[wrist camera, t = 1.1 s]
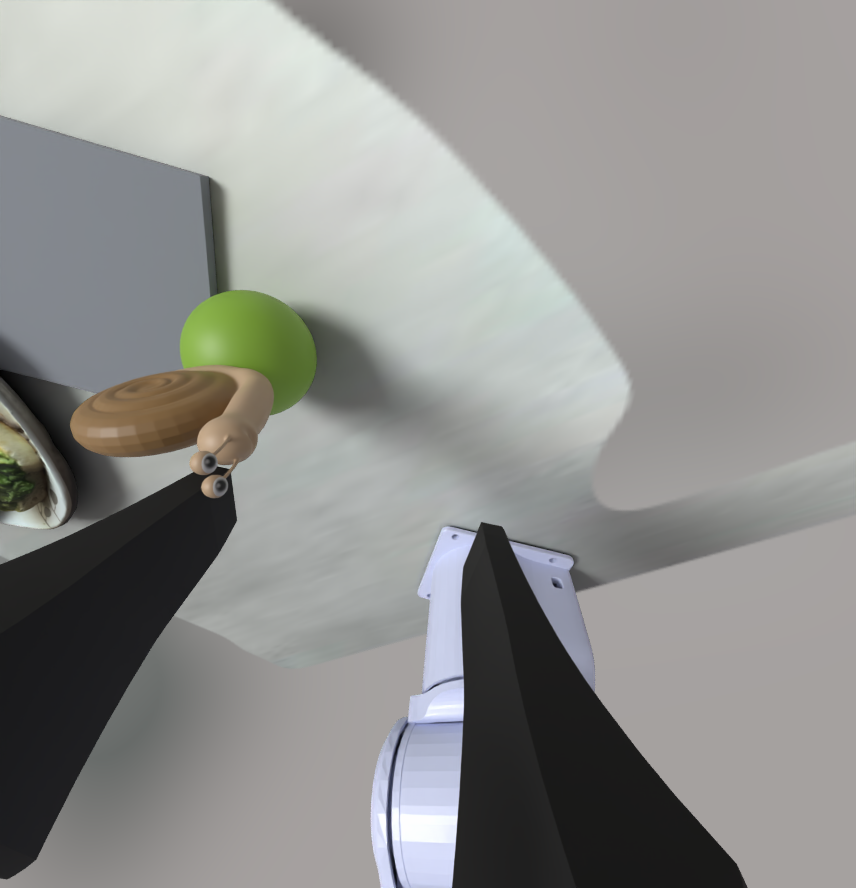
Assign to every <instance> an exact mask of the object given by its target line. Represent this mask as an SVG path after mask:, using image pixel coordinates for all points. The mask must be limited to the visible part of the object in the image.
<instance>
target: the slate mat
mask: <svg viewBox="0 0 856 888" xmlns="http://www.w3.org/2000/svg"><path fill="white" fill-rule="evenodd" d="M217 294H218V293H217V280H216V267H215V254H214V240H213V227H212V214H211V200H210V187H209V177H208V176H204V175H201V174H198V173H194V172H191V171H187V170H184V169H181V168H177V167H174V166H170V165H167V164H164V163H160V162H157V161H153V160H150V159H146V158H143V157H140V156H136V155H133V154H129V153H126V152H123V151H119V150H116V149H112V148H109V147H106V146H102V145H99V144H95V143H92V142H89V141H85V140H82V139H78V138H75V137H72V136H68V135H65V134H61V133H58V132H55V131H51V130H48V129H44V128H41V127H38V126H34V125H31V124H27V123H24V122H20V121H17V120H14V119H10V118H7V117H3V116H0V369H2V370H6V371H10V372H14V373H18V374H22V375H26V376H29V377H33V378H37V379H41V380H45V381H49V382H53V383H57V384H61V385H65V386H69V387H73V388H77V389H81V390H85V391H89V392H93V393H99V392H101V391H103V390H106V389H108V388H110V387H113V386H115V385H118V384H121V383H124V382H127V381H130V380H133V379H136V378H140V377H144V376H148V375H153V374H158V373H164V372H170V371H176V370H180V369H184V368H183V365H182V361H181V356H180V338H181V333H182V329H183V327H184V324H185V322H186V320H187V318H188V317H189V315H190V314H191V313H192V311H193V310H194V309H195V308H196V307H197V306H198V305H199V304H201V303H202V302H203V301H205V300H206V299H208V298H210V297H212V296H214V295H217Z"/></svg>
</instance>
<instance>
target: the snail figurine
mask: <svg viewBox="0 0 856 888" xmlns="http://www.w3.org/2000/svg"><path fill="white" fill-rule="evenodd" d="M180 356H181V361H182V365H183V368H184V369H180V370H176V371H170V372H164V373H158V374H153V375H148V376H144V377H140V378H136V379H133V380H130V381H127V382H124V383H121V384H118V385H115V386H113V387H110V388H108V389H106V390H103V391H101V392H99V393H97V394H95V395H94V396H92V397H90V398H89V399H87V400H86V401H84V402H83V403H82V404H81V405H80V406H79V407H78V408H77V409H76V410H75V412H74V413H73V416H72V418H71V422H70V428H71V431H72V434H73V437H74V439H75V440H76V441H77V442H78V443H79V444H81V445H82V446H83V447H85V448H86V449H88V450H90V451H92V452H95V453H98V454H102V455H106V456H114V457H142V456H150V455H157V454H162V453H168V452H172V451H176V450H180V449H183V448H187V447H190V446H192V445H195V444H197V446H198V449H199V451H200V452H197V453H195V454H194V455H193V456H192V457H191V459H190V468H191V469H192V471H193V472H195V473H196V474H199V475H208V474H210V473H212V472H213V471H214V470H215V469H216V468H217V465H218V464H220V465H231V464H233V465H232V467H231V468H230V470H229V471H228V472H227V473H226V474H225V475H224V476H220V475H211V476H209V477H207V478H206V479H205V480H204V481H203V483H202V486H201V489H202V492H203V493H204V494H205V495H206V496H207V497H210V498H219V497H221V496H222V495H224V494H225V493H226V491H227V488H228V482H227V480H226V478H227V477H228V476H229V474H230V473H231V472H232V471H233V470H234V468H235V467H236V465H237V464H238V463H239V462H241V461H243V460H245V459H247V458H248V457H249V456H250V455H251V454H252V453H253V451H254V450H255V448H256V446H257V442H258V434H259V433H260V432H261V430H262V429H263V427H264V426H265V424H266V422H267V420H268V418H269V415H274V414H277V413H280V412H282V411H284V410H286V409H288V408H290V407H292V406H293V405H294V404H296V403H297V402H298V401H299V400H300V399H301V398H302V397H303V396H304V395H305V394H306V392H307V391H308V389H309V388H310V386H311V384H312V382H313V379H314V376H315V372H316V366H317V355H316V348H315V344H314V341H313V338H312V335H311V333H310V331H309V329H308V328H307V326H306V324H305V323H304V322H303V320H302V319H301V318H300V317H299V316H298V314H297V313H296V312H294V311H293V310H292V309H291V308H290V307H289V306H287V305H286V304H284V303H283V302H281V301H280V300H278V299H276V298H274V297H271V296H269V295H266V294H263V293H260V292H255V291H249V290H234V291H227V292H223V293H220V294H217V295H214V296H212V297H210V298H208V299H206V300H205V301H203V302H202V303H201V304H199V305H198V306H197V307H196V308H195V309H194V310H193V311H192V313H191V314H190V315H189V317H188V318H187V320H186V322H185V324H184V327H183V329H182V333H181V338H180Z"/></svg>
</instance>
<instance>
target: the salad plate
mask: <svg viewBox="0 0 856 888" xmlns="http://www.w3.org/2000/svg"><path fill="white" fill-rule="evenodd" d="M77 503H78V491H77V484H76V480H75V478H74V475H73V473H72V471H71V469H70V467H69V465H68V463H67V462H66V460H65V459H64V457H63V456H62V454H61V453H60V452H59V450H58V449H57V448H56V447H55V445H54V444H53V442H52V440H51V438H50V435H49V433H48V432H47V430H46V428H45V427H44V426H43V425H42V424H41V422H40V421H39V420H38V419H37V418H36V417H35V416H34V414H33V413H32V412H31V411H30V409H29V408H28V407H27V406H26V405H25V403H24V402H23V401H22V400H21V398H20V397H19V396H18V395H17V394H16V393H15V391H14V390H13V389H12V388H11V387H10V386H9V385H8V384H7V383H6V382H5V381H4V380H3V379H2V378H1V377H0V523H3V524H6V525H15V526H21V527H26V528H33V529H54V528H57V527H59V526H62V525H64V524H65V523H67V522H68V521H69V519H70V518H71V516H72V515H73V513H74V512H75V510H76V508H77Z"/></svg>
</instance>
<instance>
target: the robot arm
mask: <svg viewBox="0 0 856 888" xmlns="http://www.w3.org/2000/svg"><path fill="white" fill-rule="evenodd" d="M229 470H230V469H227V468H222V467H217V468H216V469H215V470H214V471H213V472H212V473H210V474H208V475H199V474H196V473H195V472H193V473H191V474H189V475H187V476H186V477H184V478H182V479H180V480H178V481H176V482H174V483H173V484H171V485H169V486H167V487H165V488H163V489H161V490H160V491H158V492H156V493H154V494H152V495H150V496H148V497H146V498H144V499H142V500H140V501H139V502H137V503H135V504H133V505H131V506H129V507H127V508H125V509H123V510H121V511H119V512H117V513H115V514H113V515H111V516H109V517H107V518H105V519H103V520H101V521H98V522H96V523H94V524H92V525H90V526H88V527H86V528H84V529H82V530H80V531H78V532H76V533H74V534H71V535H69V536H67V537H65V538H63V539H60V540H58V541H56V542H54V543H51V544H49V545H47V546H44V547H42V548H40V549H37V550H35V551H32V552H30V553H28V554H25V555H23V556H20V557H18V558H16V559H13V560H11V561H8V562H6V563H3V564H1V565H0V878H1V879H8V878H11V877H12V876H14V875H16V874H17V873H19V872H20V871H22V870H23V869H25V868H26V867H28V866H29V865H30V864H31V863H33V862H34V861H35V860H36V859H37V857H38V855H39V853H40V851H41V849H42V847H43V844H44V842H45V840H46V838H47V836H48V834H49V832H50V830H51V828H52V826H53V824H54V822H55V821H56V819H57V817H58V815H59V813H60V811H61V809H62V807H63V805H64V803H65V801H66V799H67V797H68V795H69V793H70V791H71V789H72V787H73V785H74V783H75V781H76V779H77V777H78V776H79V774H80V772H81V770H82V768H83V766H84V765H85V763H86V761H87V759H88V757H89V755H90V753H91V751H92V750H93V748H94V746H95V744H96V742H97V740H98V739H99V737H100V735H101V733H102V731H103V729H104V728H105V726H106V724H107V722H108V720H109V719H110V717H111V715H112V713H113V712H114V710H115V708H116V707H117V705H118V703H119V701H120V700H121V698H122V696H123V694H124V692H125V691H126V689H127V687H128V685H129V684H130V682H131V681H132V679H133V677H134V676H135V674H136V672H137V671H138V669H139V667H140V666H141V664H142V662H143V660H144V659H145V657H146V656H147V654H148V653H149V651H150V649H151V648H152V646H153V644H154V643H155V641H156V640H157V638H158V637H159V635H160V634H161V633H162V631H163V630H164V628H165V627H166V625H167V624H168V623H169V621H170V620H171V618H172V617H173V616H174V614H175V613H176V612H177V610H178V609H179V608H180V606H181V605H182V603H183V602H184V601H185V599H186V598H187V597H188V595H189V594H190V593H191V591H192V590H193V588H194V587H195V586H196V584H197V583H198V582H199V580H200V579H201V578H202V576H203V575H204V573H205V572H206V571H207V569H208V568H209V566H210V565H211V564H212V562H213V561H214V560H215V558H216V557H217V555H218V554H219V552H220V551H221V549H222V547H223V545H224V544H225V542H226V540H227V538H228V536H229V535H230V533H231V531H232V529H233V527H234V525H235V523H236V521H237V517H236V509H235V501H234V494H233V486H232V478H231V473H230V474H229V476H228V477H227V478H226V480H227V482H228V488H227V491H226V493H225V494H224V495H222V496H221V497H219V498H210V497H207V496H206V495H205V494H204V493H203V492H202V489H201V486H202V483H203V481H204V480H205V479H206V478H207V477H209V476H211V475H220V476H224V475H225V474H226V473H227V472H228V471H229ZM454 534H457V535H454ZM573 564H574V561H573V558H572V557H571V556H569V555H566V554H561V553H557V552H553V551H549V550H545V549H541V548H537V547H533V546H528V545H524V544H520V543H516V542H512V541H509V540H508V538H507V535H506V533H505V531H504V529H503V527H502V526H497V525H492V524H487V523H483V522H481V524H480V527H479V529H478V532H477V533H475V532H471V531H466V530H462V529H458V528H454V527H449V526H447V527H444V528H442V530H441V532H440V535H439V537H438V540H437V543H436V545H435V548H434V550H433V553H432V555H431V558H430V561H429V563H428V566H427V568H426V571H425V573H424V576H423V578H422V581H421V584H420V586H419V589H418V595H419V596H420V597H422V598H425V599H430V606H429V618H428V629H427V641H426V653H425V665H424V675H423V686H422V694H419V695H413V696H411V697H410V705H409V715H408V717H403V718H401V719H399V720H398V721H397V722H396V723H395V725H394V726H393V728H392V729H391V731H390V733H389V735H388V737H387V738H386V740H385V742H384V744H383V747H382V749H381V752H380V755H379V759H378V762H377V766H376V770H375V776H374V782H373V791H372V800H371V835H372V845H373V851H374V856H375V860H376V864H377V867H378V871H379V878H380V885H381V888H747V885H746V883H745V881H744V879H743V877H742V875H741V872H740V870H739V868H738V866H737V864H736V863H735V862H734V861H733V859H732V858H731V857H730V856H729V855H728V854H727V853H726V852H725V850H723V848H722V847H721V846H720V845H719V844H718V843H717V842H716V840H715V839H714V838H713V837H712V836H711V835H710V834H709V833H708V831H707V830H706V829H705V828H704V827H703V826H702V825H701V824H700V823H699V821H698V820H697V819H696V818H695V817H694V816H693V815H692V814H691V812H690V811H689V810H688V809H687V808H686V807H685V806H684V805H683V804H682V803H681V801H680V800H679V799H678V798H677V797H676V796H675V795H674V793H673V792H672V791H671V790H670V789H669V787H668V786H667V785H666V784H665V783H664V781H663V780H662V779H661V778H660V776H659V775H658V774H657V773H656V772H655V770H654V769H653V768H652V767H651V766H650V764H649V763H648V762H647V761H646V760H645V758H644V757H643V756H642V755H641V753H640V752H639V751H638V750H637V748H636V747H635V746H634V744H633V743H632V742H631V740H630V739H629V738H628V737H627V735H626V734H625V733H624V731H623V730H622V729H621V728H620V726H619V725H618V723H617V722H616V721H615V720H614V718H613V717H612V716H611V714H610V713H609V712H608V711H607V709H606V708H605V706H604V705H603V704H602V702H601V701H600V700H599V698H598V697H597V695H596V694H595V693H594V691H595V666H594V658H593V653H592V649H591V645H590V641H589V638H588V635H587V631H586V627H585V624H584V620H583V617H582V613H581V610H580V607H579V603H578V600H577V596H576V593H575V589H574V586H573V582H572V579H571V575H570V572H569V570H570V568H571V567H572V566H573Z"/></svg>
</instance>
